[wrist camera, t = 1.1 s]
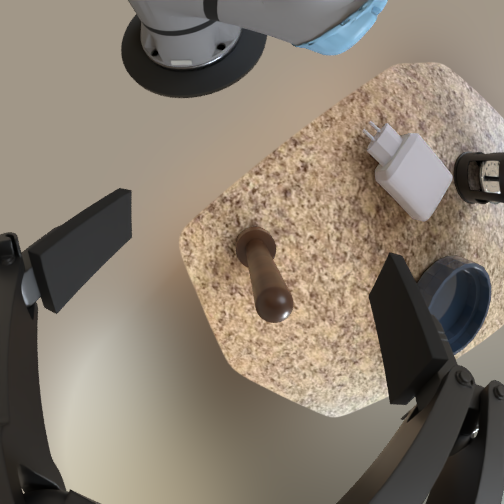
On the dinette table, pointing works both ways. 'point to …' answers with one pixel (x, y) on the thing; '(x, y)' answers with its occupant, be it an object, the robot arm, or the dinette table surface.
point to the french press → (481, 177)
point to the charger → (408, 170)
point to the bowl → (457, 298)
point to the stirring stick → (264, 274)
